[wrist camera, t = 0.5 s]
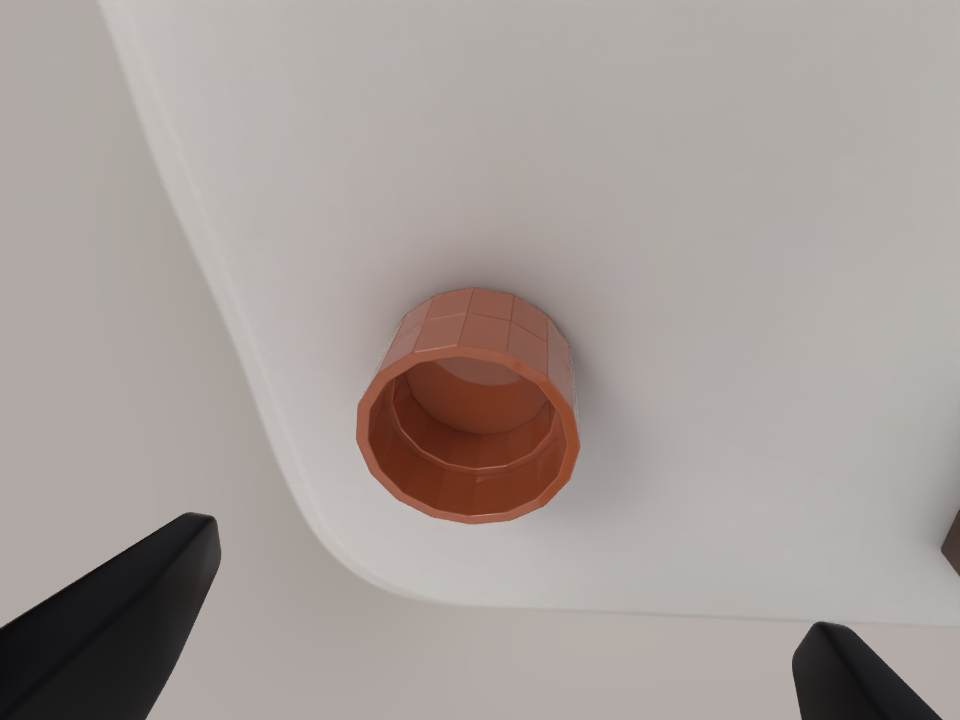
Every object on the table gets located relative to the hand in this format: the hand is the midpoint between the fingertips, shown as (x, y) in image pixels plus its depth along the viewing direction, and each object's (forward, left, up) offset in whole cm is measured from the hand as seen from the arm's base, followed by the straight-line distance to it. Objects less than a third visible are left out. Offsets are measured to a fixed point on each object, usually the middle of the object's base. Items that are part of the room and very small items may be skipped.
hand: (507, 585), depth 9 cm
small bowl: (-2, +4, -13) cm, 13 cm away
